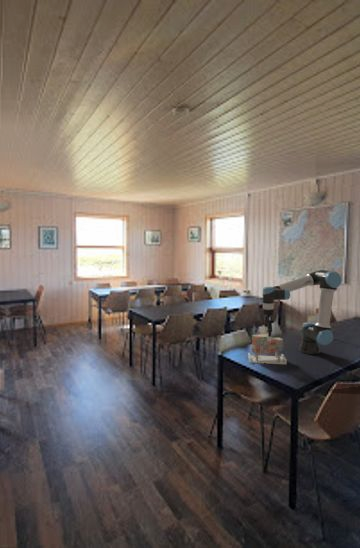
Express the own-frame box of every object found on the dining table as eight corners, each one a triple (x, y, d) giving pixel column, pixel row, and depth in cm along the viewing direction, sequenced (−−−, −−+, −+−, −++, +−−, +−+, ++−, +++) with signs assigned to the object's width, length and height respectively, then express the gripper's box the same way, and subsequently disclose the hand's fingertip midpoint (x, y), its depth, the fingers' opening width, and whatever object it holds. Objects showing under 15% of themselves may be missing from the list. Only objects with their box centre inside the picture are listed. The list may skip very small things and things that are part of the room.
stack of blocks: (278, 349, 236) (279, 333, 235) (283, 352, 230) (283, 335, 229) (251, 351, 232) (252, 334, 231) (255, 354, 226) (255, 336, 225)
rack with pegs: (282, 358, 237) (282, 349, 236) (286, 364, 224) (286, 355, 223) (247, 356, 239) (248, 348, 239) (250, 362, 226) (250, 354, 226)
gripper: (260, 305, 241) (259, 333, 243) (265, 312, 217) (265, 343, 218) (270, 305, 241) (270, 333, 242) (277, 312, 216) (276, 343, 217)
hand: (267, 338), depth 230 cm, fingers open, 13 cm apart
